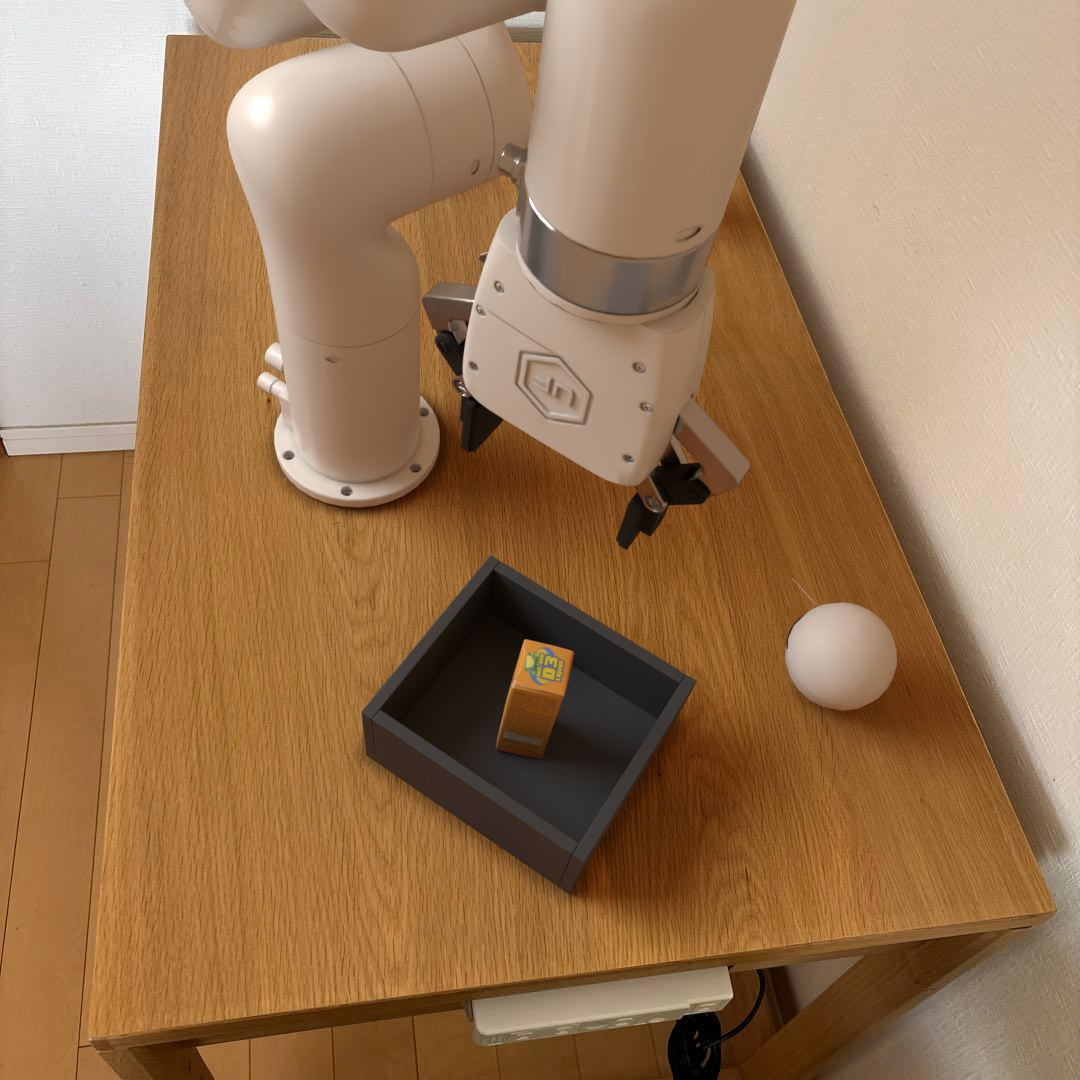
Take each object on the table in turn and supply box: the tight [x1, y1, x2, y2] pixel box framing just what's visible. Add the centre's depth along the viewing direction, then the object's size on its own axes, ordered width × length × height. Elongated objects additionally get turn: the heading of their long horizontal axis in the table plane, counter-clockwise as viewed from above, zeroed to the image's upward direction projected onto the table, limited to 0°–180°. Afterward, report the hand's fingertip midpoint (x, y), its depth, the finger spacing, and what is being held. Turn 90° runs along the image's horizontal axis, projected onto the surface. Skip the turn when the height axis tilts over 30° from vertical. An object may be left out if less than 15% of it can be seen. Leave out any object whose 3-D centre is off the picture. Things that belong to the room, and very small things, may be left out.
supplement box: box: [496, 639, 574, 759], centre depth 63 cm, size 3×3×10 cm
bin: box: [360, 554, 698, 894], centre depth 65 cm, size 16×14×7 cm
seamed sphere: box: [784, 577, 898, 711], centre depth 70 cm, size 10×7×7 cm
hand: (557, 480), depth 54 cm, fingers open, 9 cm apart
